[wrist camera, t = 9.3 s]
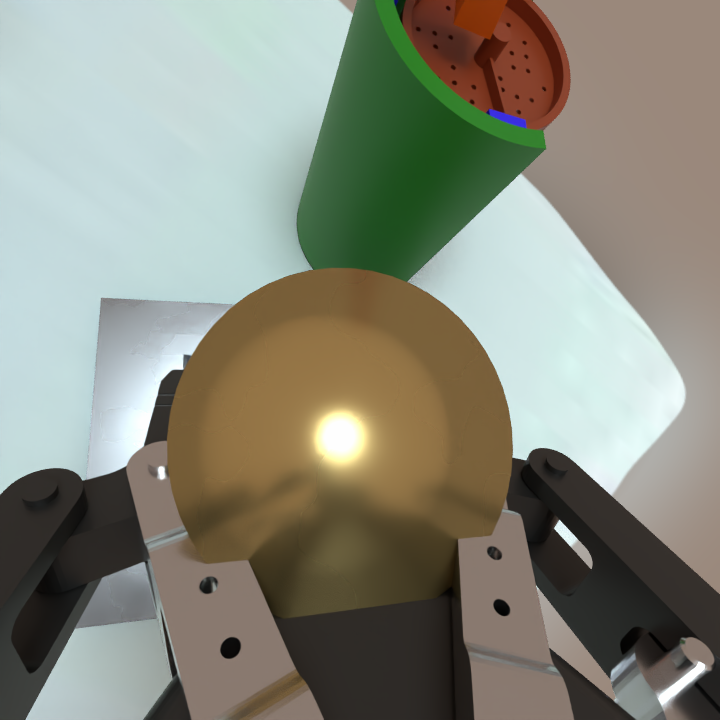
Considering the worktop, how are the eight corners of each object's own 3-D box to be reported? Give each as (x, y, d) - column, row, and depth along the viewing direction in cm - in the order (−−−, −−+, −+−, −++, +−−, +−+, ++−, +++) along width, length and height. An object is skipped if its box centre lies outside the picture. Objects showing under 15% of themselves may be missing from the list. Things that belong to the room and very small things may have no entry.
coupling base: (80, 620, 21) (35, 669, 16) (106, 303, 24) (74, 268, 20) (425, 578, 26) (467, 607, 21) (410, 318, 29) (444, 292, 24)
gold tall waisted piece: (200, 540, 15) (129, 686, 6) (206, 361, 17) (156, 236, 7) (374, 525, 17) (547, 619, 7) (368, 363, 18) (508, 264, 9)
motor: (429, 306, 30) (766, 52, 11) (296, 298, 27) (430, -45, 8) (420, 171, 32) (692, -243, 13) (296, 153, 29) (404, -390, 10)
